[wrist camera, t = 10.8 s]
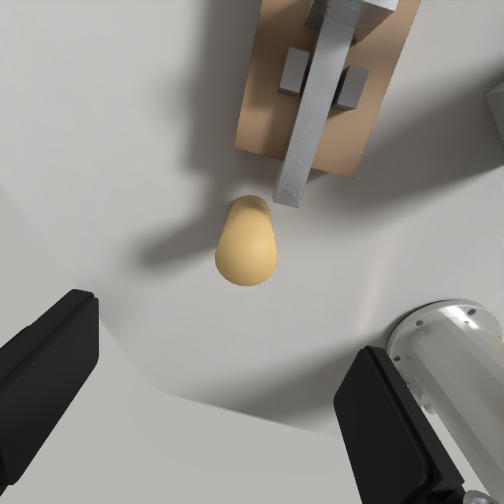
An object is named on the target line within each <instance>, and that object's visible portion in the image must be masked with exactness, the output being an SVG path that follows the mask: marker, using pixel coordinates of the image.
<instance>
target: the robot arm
mask: <svg viewBox="0 0 504 504" xmlns="http://www.w3.org/2000/svg"><path fill="white" fill-rule="evenodd" d="M502 336H503V334H502V327H501V325H500V322H499V320H497V318H496V317H495V316H494V315H493V314H492V313H491V312H489V311H488V310H487V309H486V308H484V307H482V306H480V305H478V304H476V303H472V302H469V301H461V300H452V301H443V302H438V303H434V304H431V305H428V306H426V307H423V308H421V309H419V310H417V311H415V312H414V313H412V314H411V315H409V316H408V317H407V318H405V319H404V320H403V321H402V322H401V323H400V324H399V325H398V326H397V327H396V329H395V330H394V331H393V333H392V334H391V336H390V339H389V341H388V345H387V352H386V351H385V350H384V349H382V348H377V347H372V346H366V347H365V348H364V349H361V350H360V351H359V352H358V354H357V356H356V358H355V360H354V362H353V363H352V365H351V367H350V369H349V371H348V373H347V374H346V376H345V378H344V380H343V382H342V383H341V385H340V387H339V389H338V391H337V393H336V394H335V397H334V402H333V403H334V409H335V412H336V416H337V419H338V423H339V426H340V429H341V433H342V436H343V440H344V443H345V446H346V450H347V453H348V457H349V460H350V463H351V467H352V470H353V473H354V477H355V480H356V484H357V487H358V491H359V494H360V497H361V501H362V504H504V343H503V342H502ZM98 358H99V301H98V298H95V297H94V294H93V293H92V292H88V291H83V290H77V289H72V290H71V291H69V292H68V293H67V294H66V295H65V296H64V297H62V298H61V299H60V300H59V301H58V302H57V303H56V304H54V305H53V306H52V307H51V308H50V309H49V310H48V311H46V312H45V313H44V314H43V315H42V316H40V317H39V318H38V319H37V320H36V321H35V322H34V323H32V324H31V325H29V326H27V327H25V328H24V329H22V330H21V331H20V332H19V333H18V334H16V335H15V336H14V337H13V338H12V339H11V340H9V341H8V342H7V343H6V344H5V345H4V346H2V347H1V348H0V496H1V495H2V494H3V492H4V491H5V489H6V488H7V486H8V485H14V484H15V483H16V482H17V481H18V480H19V479H20V477H21V476H22V475H23V473H24V472H25V470H26V469H27V467H28V466H29V464H30V463H31V461H32V460H33V458H34V457H35V455H36V454H37V452H38V451H39V449H40V448H41V446H42V445H43V443H44V442H45V440H46V439H47V438H48V436H49V435H50V433H51V432H52V430H53V429H54V427H55V426H56V424H57V422H58V421H59V420H60V418H61V417H62V415H63V414H64V412H65V411H66V409H67V408H68V406H69V405H70V403H71V402H72V400H73V399H74V397H75V396H76V394H77V393H78V391H79V390H80V388H81V387H82V385H83V384H84V383H85V381H86V380H87V378H88V376H89V375H90V374H91V372H92V371H93V369H94V368H95V366H96V364H97V361H98ZM403 379H404V380H405V381H407V382H409V384H410V385H409V386H408V387H407V385H406V383H405V382H404V380H403ZM423 404H424V405H423ZM422 405H423V407H424V409H425V410H426V411H427V412H428V413H430V414H432V415H433V414H435V413H437V414H438V416H439V417H440V419H441V421H442V422H443V424H444V425H445V427H446V428H447V430H448V431H449V433H450V434H451V436H452V438H453V439H454V441H455V442H456V444H457V445H458V447H459V448H460V450H461V452H462V453H463V455H464V456H465V458H466V459H467V461H468V462H469V464H470V466H471V467H472V469H473V470H474V472H475V473H476V475H477V476H478V478H479V479H480V481H481V483H482V484H483V486H484V487H485V489H486V490H487V492H488V493H489V495H490V496H491V497H490V496H488V495H486V494H484V493H482V492H479V491H476V490H470V491H468V492H465V490H464V489H463V487H462V484H463V483H464V482H465V481H464V479H463V478H462V476H461V475H460V473H459V471H458V469H457V468H456V466H455V464H454V463H453V461H452V460H451V458H450V456H449V455H448V453H447V451H446V449H445V448H444V446H443V445H442V443H441V441H440V440H439V438H438V436H437V435H436V433H435V431H434V430H433V428H432V426H431V425H430V423H429V422H428V420H427V418H426V417H425V415H424V413H423V412H422V410H421V407H422Z"/></svg>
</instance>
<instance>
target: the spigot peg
mask: <svg viewBox="0 0 504 504" xmlns="http://www.w3.org/2000/svg"><path fill="white" fill-rule="evenodd" d="M277 259H278V258H277V250H276V244H275V238H274V232H273V227H272V221H271V215H270V210H269V207H268V205H267V204H266V202H265V201H264V200H263V199H261V198H259V197H257V196H254V195H246V196H242V197H240V198H239V199H237V200H236V201H235V202H234V203H233V205H232V207H231V209H230V212H229V215H228V218H227V220H226V223H225V226H224V229H223V232H222V234H221V237H220V240H219V243H218V246H217V249H216V252H215V263H216V266H217V269H218V271H219V272H220V274H221V275H222V276H223V277H224V278H225V279H226V280H228V281H229V282H231V283H233V284H236V285H240V286H253V285H257V284H260V283H262V282H264V281H266V280H267V279H268V278H269V277H270V276H271V275H272V274H273V272H274V270H275V268H276V266H277Z"/></svg>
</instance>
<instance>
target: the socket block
mask: <svg viewBox="0 0 504 504" xmlns="http://www.w3.org/2000/svg"><path fill="white" fill-rule="evenodd" d="M309 2H310V0H262V5H261V10H260V15H259V20H258V25H257V30H256V35H255V41H254V46H253V51H252V56H251V61H250V66H249V71H248V76H247V81H246V86H245V92H244V97H243V102H242V107H241V112H240V117H239V122H238V127H237V132H236V138H235V143H234V148H236V149H240V150H244V151H248V152H252V153H256V154H260V155H263V156H267V157H271V158H275V159H279V160H283V156H284V152H285V149H286V145H287V141H288V138H289V134H290V130H291V127H292V123H293V119H294V116H295V112H296V108H297V105H298V101H299V97H300V94H301V90H302V86H303V83H304V79H305V75H306V72H307V68H308V64H309V61H310V57H311V53H312V50H313V46H314V42H315V39H316V35H317V31H318V29H315V28H312V27H309V26H305V25H304V22H305V18H306V14H307V10H308V6H309ZM420 2H421V0H399V1H398V4H397V6H396V9H395V11H394V12H393V13H392V14H391V15H390V16H389V17H388V18H386V19H385V20H384V21H383V22H382V23H381V24H380V25H379V26H378V27H376V28H375V29H374V30H373V31H372V32H371V33H370V34H369V35H368V36H366V37H365V38H364V39H363V40H362V41H361V42H358V41H355V40H351V43H350V46H349V49H348V53H347V56H346V59H345V62H344V65H343V68H342V71H341V75H340V78H339V81H338V84H337V87H336V90H335V93H334V97H333V100H332V103H331V106H330V109H329V112H328V115H327V119H326V122H325V125H324V128H323V131H322V134H321V137H320V141H319V144H318V147H317V150H316V153H315V156H314V159H313V163H312V166H311V168H314V169H318V170H322V171H326V172H330V173H333V174H337V175H341V176H345V177H349V178H353V175H354V173H355V170H356V168H357V165H358V163H359V160H360V157H361V155H362V152H363V150H364V147H365V144H366V142H367V139H368V137H369V134H370V132H371V129H372V126H373V124H374V121H375V119H376V116H377V113H378V111H379V108H380V106H381V103H382V101H383V98H384V95H385V93H386V90H387V88H388V85H389V82H390V80H391V77H392V75H393V72H394V70H395V67H396V64H397V62H398V59H399V57H400V54H401V51H402V49H403V46H404V44H405V41H406V39H407V36H408V33H409V31H410V28H411V26H412V23H413V20H414V18H415V15H416V13H417V10H418V8H419V5H420Z"/></svg>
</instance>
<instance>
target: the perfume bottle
mask: <svg viewBox="0 0 504 504" xmlns="http://www.w3.org/2000/svg"><path fill="white" fill-rule="evenodd" d="M485 97H486V100H487V102H488V105H489V108H490V110H491V113H492V116H493V118H494V121H495V124H496V126H497V129H498V132H499V134H500V137H501V140H502V142H503V145H504V81H503V82H502V83H500V84H499V85H497V86H496V87H495V88H493V89H492V90H490V91H489V92H487V93H486V94H485Z"/></svg>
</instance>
